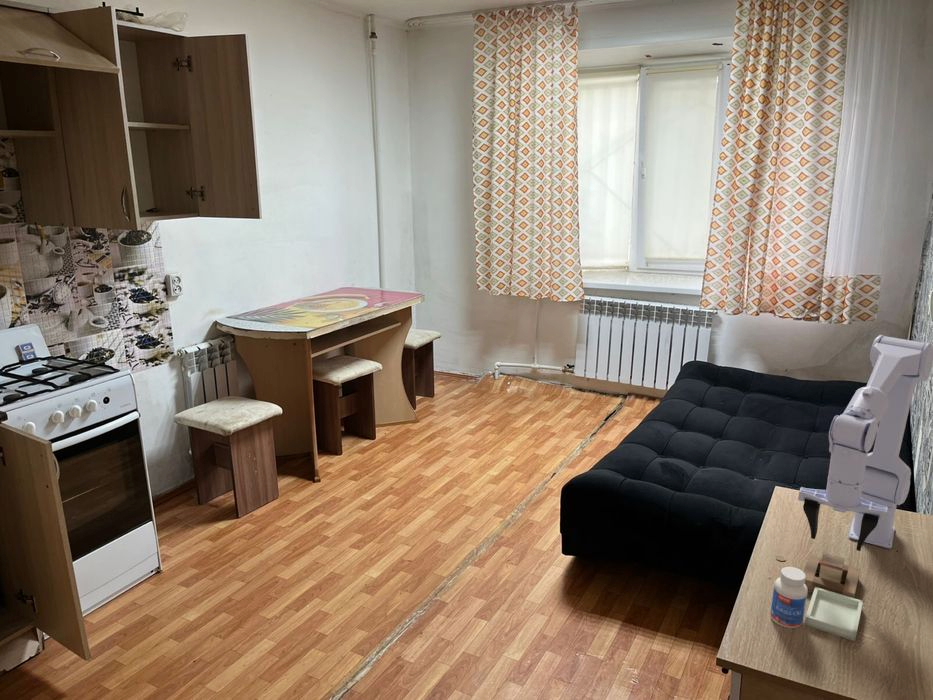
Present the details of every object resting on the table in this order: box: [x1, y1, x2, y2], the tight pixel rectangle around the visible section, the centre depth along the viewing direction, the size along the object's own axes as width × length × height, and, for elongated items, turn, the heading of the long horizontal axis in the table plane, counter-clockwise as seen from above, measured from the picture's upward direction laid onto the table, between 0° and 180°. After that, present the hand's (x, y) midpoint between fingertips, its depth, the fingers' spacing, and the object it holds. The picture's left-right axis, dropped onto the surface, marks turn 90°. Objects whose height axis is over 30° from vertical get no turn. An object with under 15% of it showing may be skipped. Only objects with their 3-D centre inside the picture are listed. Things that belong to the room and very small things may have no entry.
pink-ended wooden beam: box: [818, 552, 846, 584], centre depth 136 cm, size 4×4×6 cm
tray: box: [804, 587, 864, 642], centre depth 127 cm, size 10×8×2 cm
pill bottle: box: [770, 566, 809, 629], centre depth 126 cm, size 6×5×10 cm
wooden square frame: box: [803, 554, 861, 599], centre depth 136 cm, size 9×9×2 cm
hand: (835, 542), depth 134 cm, fingers open, 7 cm apart
